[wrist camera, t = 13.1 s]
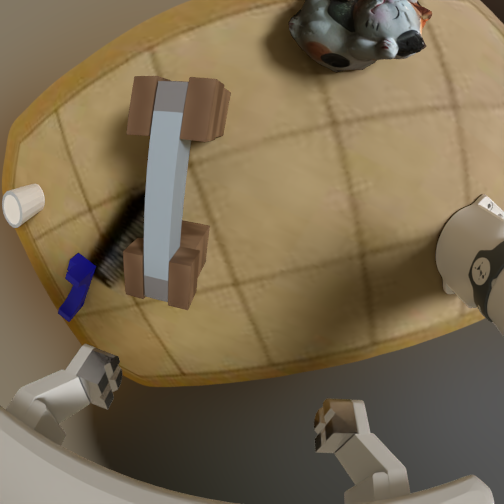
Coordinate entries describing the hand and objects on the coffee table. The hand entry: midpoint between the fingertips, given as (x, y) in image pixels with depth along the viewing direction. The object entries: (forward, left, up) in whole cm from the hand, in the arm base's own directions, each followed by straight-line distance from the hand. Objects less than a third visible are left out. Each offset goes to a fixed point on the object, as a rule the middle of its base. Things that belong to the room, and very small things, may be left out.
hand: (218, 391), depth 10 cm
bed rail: (+10, 0, -23) cm, 25 cm away
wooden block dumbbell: (+10, 0, -31) cm, 33 cm away
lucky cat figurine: (-7, -25, -31) cm, 41 cm away
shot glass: (+42, +7, -31) cm, 53 cm away
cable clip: (+32, +23, -32) cm, 50 cm away
